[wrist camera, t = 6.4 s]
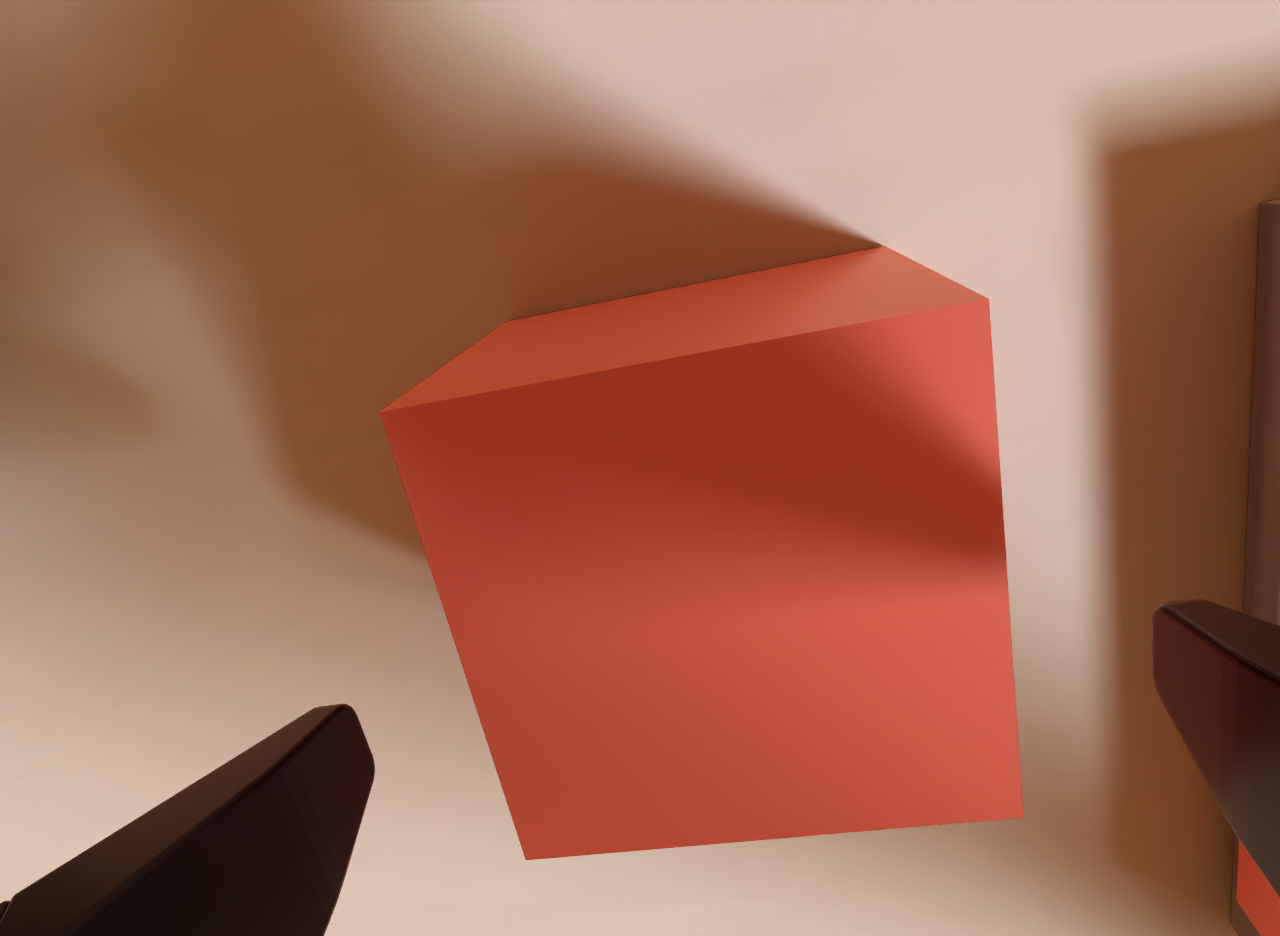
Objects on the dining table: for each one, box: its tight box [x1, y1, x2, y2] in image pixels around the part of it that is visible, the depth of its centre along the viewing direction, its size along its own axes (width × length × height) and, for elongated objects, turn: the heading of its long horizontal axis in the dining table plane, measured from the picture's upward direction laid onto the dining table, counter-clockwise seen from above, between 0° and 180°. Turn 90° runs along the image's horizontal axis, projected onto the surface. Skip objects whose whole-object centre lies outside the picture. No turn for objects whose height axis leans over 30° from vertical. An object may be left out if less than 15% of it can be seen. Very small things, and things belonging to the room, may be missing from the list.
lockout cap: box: [380, 246, 1023, 860], centre depth 13 cm, size 7×7×6 cm
